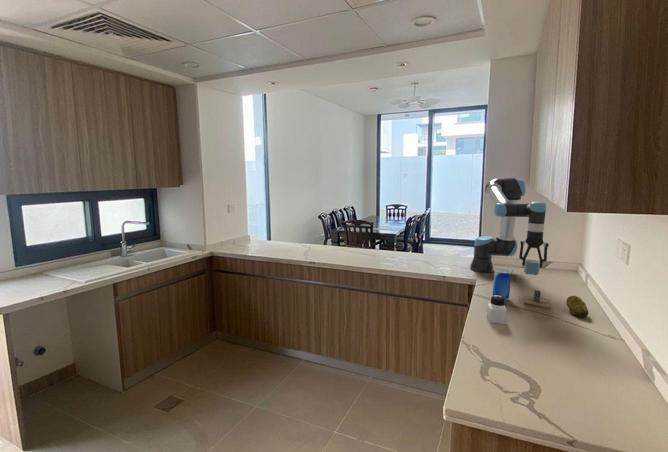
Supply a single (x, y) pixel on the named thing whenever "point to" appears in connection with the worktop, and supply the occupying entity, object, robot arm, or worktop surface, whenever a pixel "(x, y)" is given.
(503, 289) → the beer can
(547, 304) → the tan square panel
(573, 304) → the brown oval lump
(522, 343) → the worktop surface
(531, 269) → the light blue chamfered box
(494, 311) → the medicine bottle
